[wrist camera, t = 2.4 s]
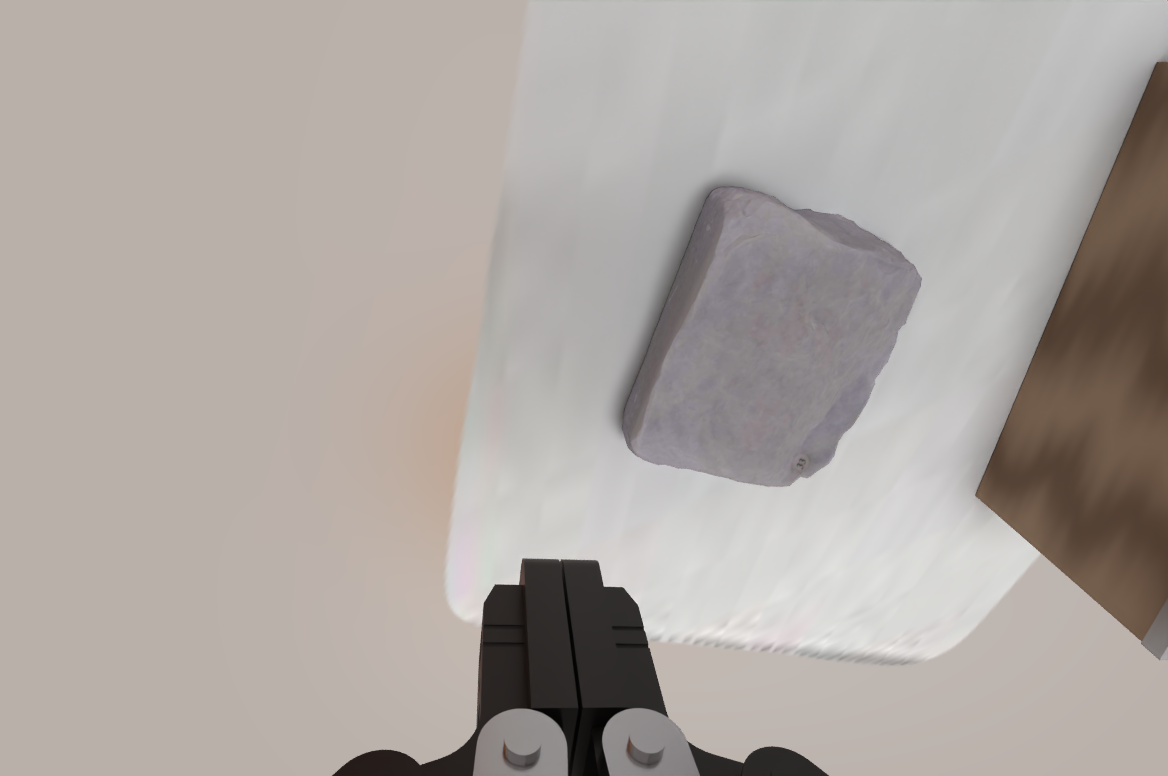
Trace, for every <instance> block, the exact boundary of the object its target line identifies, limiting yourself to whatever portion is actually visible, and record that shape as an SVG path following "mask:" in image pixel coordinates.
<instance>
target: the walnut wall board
mask: <svg viewBox="0 0 1168 776" xmlns="http://www.w3.org/2000/svg"><path fill="white" fill-rule="evenodd" d="M976 496H977V497H978V498H979V499H980V500H981V501H982V502H983V503H985V504H986V505H987V506H988V507H989V508H990V509H991V510H993V511H994V512H995V513H996V514H997V515H998V516H999V517H1001V518H1002V519H1003V520H1004V521H1005V522H1006V523H1007V524H1008V525H1010V526H1011V527H1012V528H1013V529H1014V530H1015V531H1016V532H1018V533H1019V534H1020V535H1021V536H1022V537H1023V538H1024V539H1026V540H1027V541H1028V542H1029V543H1030V544H1031V545H1032V546H1034V547H1035V548H1036V549H1037V550H1038V551H1039V552H1040V553H1042V554H1043V555H1044V556H1045V557H1046V558H1047V559H1048V560H1050V561H1051V562H1052V563H1053V564H1054V565H1055V566H1056V567H1057V568H1059V569H1060V570H1061V571H1062V572H1063V573H1064V574H1065V575H1067V576H1068V577H1069V578H1070V579H1071V580H1072V581H1073V582H1075V583H1076V584H1077V585H1078V586H1079V587H1080V588H1081V589H1083V590H1084V591H1085V592H1086V593H1087V594H1088V595H1089V596H1090V597H1092V598H1093V599H1094V600H1095V601H1096V602H1097V603H1098V604H1100V605H1101V606H1102V607H1103V608H1104V609H1105V610H1106V611H1108V612H1109V613H1110V614H1111V615H1112V616H1113V617H1114V618H1116V619H1117V620H1118V621H1119V622H1120V623H1121V624H1122V625H1124V626H1125V627H1126V628H1127V629H1128V630H1129V631H1130V632H1132V633H1133V634H1134V635H1135V636H1136V637H1137V638H1138V639H1139V640H1141V641H1142V642H1141V644H1142V645H1143V646H1144V647H1145V648H1146V649H1147V650H1149V651H1150V652H1151V653H1152V654H1153V655H1154V656H1155V657H1156V658H1158V659H1159V660H1168V62H1157V64H1156V67H1155V69H1154V72H1153V74H1152V76H1151V79H1150V81H1149V84H1148V86H1147V88H1146V91H1145V93H1144V95H1143V98H1142V100H1141V103H1140V105H1139V107H1138V110H1137V112H1136V115H1135V117H1134V119H1133V122H1132V124H1131V126H1130V129H1129V131H1128V134H1127V136H1126V138H1125V141H1124V143H1123V145H1122V148H1121V150H1120V153H1119V155H1118V157H1117V160H1116V162H1115V165H1114V167H1113V169H1112V172H1111V174H1110V176H1109V179H1108V181H1107V184H1106V186H1105V188H1104V191H1103V193H1102V196H1101V198H1100V200H1099V203H1098V205H1097V207H1096V210H1095V212H1094V215H1093V217H1092V219H1091V222H1090V224H1089V226H1088V229H1087V231H1086V234H1085V236H1084V238H1083V241H1082V243H1081V246H1080V248H1079V250H1078V253H1077V255H1076V257H1075V260H1074V262H1073V265H1072V267H1071V269H1070V272H1069V274H1068V277H1067V279H1066V281H1065V284H1064V286H1063V288H1062V291H1061V293H1060V296H1059V298H1058V300H1057V303H1056V305H1055V307H1054V310H1053V312H1052V315H1051V317H1050V319H1049V322H1048V324H1047V327H1046V329H1045V331H1044V334H1043V336H1042V338H1041V341H1040V343H1039V346H1038V348H1037V350H1036V353H1035V355H1034V358H1033V360H1032V362H1031V365H1030V367H1029V369H1028V372H1027V374H1026V377H1025V379H1024V381H1023V384H1022V386H1021V388H1020V391H1019V393H1018V396H1017V398H1016V400H1015V403H1014V405H1013V408H1012V410H1011V412H1010V415H1009V417H1008V419H1007V422H1006V424H1005V427H1004V429H1003V431H1002V434H1001V436H1000V439H999V441H998V443H997V446H996V448H995V450H994V453H993V455H992V458H991V460H990V462H989V465H988V467H987V469H986V472H985V474H984V477H983V479H982V481H981V484H980V486H979V489H978V491H977V493H976Z"/></svg>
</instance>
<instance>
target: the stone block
mask: <svg viewBox="0 0 1168 776" xmlns="http://www.w3.org/2000/svg"><path fill="white" fill-rule="evenodd" d="M921 280H922V278H921V277H920V275H919V274H918V272H917V270H916V268H915V266H914V265H913V264H912V263H910V262H909V261H908V260H907V259H905V257H904V256H903V255H902V253H901V252H900V251H898V250H896V249H895V248H894V247H892V246H891V245H890V244H888V243H886V242H884V241H881V240H880V239H878V238H877V237H876V236H875V235H873V234H871V233H869V232H867V231H864V230H862V229H861V228H859V227H858V226H857V225H856V224H855V222H853V221H851V220H848V219H845V218H844V217H842V216H841V215H838V214H836V215H834V214H827V213H819V212H813V211H812V210H811V209H803V210H793V209H790V208H789V207H787V206H786V205H785V204H783V203H781V202H780V201H779V200H777V199H776V198H775V197H774V196H770V195H767V194H764V193H760V192H756V191H751V190H749V189H745V188H739V187H719V188H717V189H715V190H713V191H712V192H711V194H710V195H709V196H708V198H707V199H706V201H705V204H704V206H703V209H702V211H701V213H700V216H699V218H698V220H697V223H696V226H695V229H694V231H693V234H692V237H691V240H690V243H689V245H688V247H687V250H686V252H685V255H684V257H683V260H682V263H681V265H680V268H679V271H678V273H677V276H676V278H675V281H674V284H673V286H672V289H671V291H670V294H669V296H668V299H667V301H666V304H665V307H664V310H663V312H662V315H661V317H660V320H659V322H658V325H657V327H656V330H655V332H654V335H653V337H652V340H651V343H650V345H649V348H648V351H647V354H646V358H645V360H644V362H643V364H642V367H641V369H640V372H639V374H638V377H637V379H636V381H635V384H634V386H633V389H632V391H631V394H630V397H629V399H628V402H627V404H626V407H625V411H624V417H623V424H622V430H623V433H624V437H625V440H626V443H627V446H628V448H629V449H630V450H631V451H632V452H633V453H634V454H635V455H636V456H638V457H640V458H642V459H643V460H646V461H648V462H651V463H654V464H658V465H664V464H665V465H669V466H672V467H675V468H681V469H691V470H695V471H699V472H704V473H708V474H711V475H715V476H720V477H725V478H729V479H732V480H735V481H737V482H743V483H750V484H756V485H763V486H767V487H770V486H776V487H783V486H790V485H791V484H792V483H793V482H795V481H796V480H797V479H798V478H799V477H805V478H808V477H810V476H812V475H813V474H814V473H816V472H817V471H818V470H820V469H821V468H823V467H824V466H826V465H827V464H829V462H830V461H831V460H832V458H833V457H834V454H835V451H836V447H837V444H838V441H839V440H840V438H841V437H842V435H843V434H844V433H845V432H846V431H847V430H848V429H850V428H851V427H852V426H853V424H854V423H855V421H856V420H857V418H858V417H859V415H860V413H861V412H862V410H863V408H864V407H865V405H866V403H867V401H868V399H869V397H870V394H871V392H872V389H873V387H874V385H875V378H876V377H877V376H878V375H879V373H880V372H881V370H882V369H883V367H884V365H885V364H886V363H887V362H888V359H889V357H890V354H891V351H892V350H893V348H894V345H895V343H896V339H897V334H898V330H899V329H900V328H901V326H903V325H904V324H905V323H906V320H907V317H908V315H909V312H910V310H911V308H912V305H913V303H914V301H915V298H916V296H917V293H918V291H919V289H920V287H921Z"/></svg>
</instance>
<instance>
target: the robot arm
mask: <svg viewBox="0 0 1168 776" xmlns="http://www.w3.org/2000/svg"><path fill="white" fill-rule="evenodd" d="M477 704H478V705H477V728H476V730H475V732H474V734H473V735H472V737H471V738H470V739H469V740H468V741H467V743H465V745H464V746H462V747H461V748H460V749H458V750H457V751H455V752H453V753H452V754H450V755H448V756H446V757H443V758H441V759H438V760H435V761H431V762H428V763H425V764H422V765H419V764H418V763H417V762H416V761H415V760H414V759H413V758H411V757H410V756H408V755H406V754H404V753H401V752H398V751H393V750H377V751H371V752H368V753H365V754H362V755H360V756H357V757H356V758H354V759H352V760H350V761H349V762H348V763H346V764H345V765H344V766H342V767H341V768H340V769H339V770H338V771H337V772H336V773H335V774H334V775H332V776H829V775H827V774H826V773H825V772H823V771H822V770H821V769H819V768H818V767H817V766H816V765H814V764H813V763H812V762H810V761H809V760H808V759H806V758H805V757H803V756H802V755H800V754H798V753H796V752H794V751H791V750H789V749H785V748H781V747H764V748H760V749H757V750H755V751H754V752H752V753H751V754H750V755H749V756H748V757H747V759H746V760H745V762H744V763H741V762H737V761H734V760H731V759H727V758H724V757H720V756H717V755H713V754H711V753H708V752H705V751H703V750H701V749H699V748H697V747H695V746H694V745H692V744H691V743H689V742H688V741H687V740H686V737H685V736H684V734H683V732H682V731H681V729H680V728H679V727H678V726H677V725H676V724H675V723H674V722H673V721H672V720H671V719H669V718H668V715H667V712H666V709H665V705H664V701H663V697H662V694H661V690H660V686H659V682H658V679H657V675H656V671H655V667H654V664H653V660H652V656H651V652H650V649H649V648H648V641H647V637H646V633H645V631H644V626H643V622H642V618H641V615H640V611H639V607H638V605H637V604H636V603H635V601H634V600H633V599H632V598H631V596H630V595H629V594H628V593H627V592H626V590H625V589H624V588H623V587H604V586H603V581H602V576H601V571H600V567H599V563H598V561H596V560H563V559H562V560H561V561H559V560H558V559H524V558H523V559H522V564H521V572H520V582H519V585H496V584H495V586H494V587H493V589H492V591H491V592H490V594H489V595H488V597H487V599H486V600H485V602H484V607H483V619H482V631H481V643H480V655H479V674H478V702H477Z"/></svg>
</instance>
